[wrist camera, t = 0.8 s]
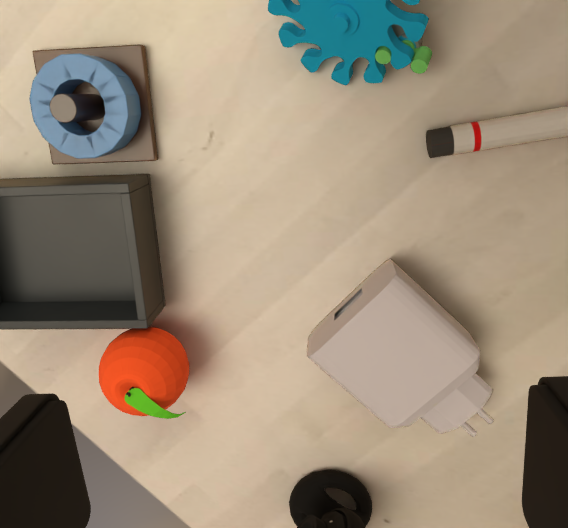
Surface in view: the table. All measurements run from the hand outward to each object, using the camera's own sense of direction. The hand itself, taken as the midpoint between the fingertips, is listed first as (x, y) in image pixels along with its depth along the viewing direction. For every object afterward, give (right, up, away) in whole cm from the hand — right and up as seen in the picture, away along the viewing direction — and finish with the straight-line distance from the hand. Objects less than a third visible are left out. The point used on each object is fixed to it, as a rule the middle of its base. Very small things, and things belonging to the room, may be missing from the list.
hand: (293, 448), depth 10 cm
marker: (+18, +14, +26) cm, 34 cm away
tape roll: (-14, +15, +27) cm, 34 cm away
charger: (+10, -4, +32) cm, 34 cm away
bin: (-17, +5, +31) cm, 36 cm away
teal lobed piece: (+4, +20, +25) cm, 32 cm away
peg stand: (-14, +15, +28) cm, 35 cm away
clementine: (-11, -4, +34) cm, 36 cm away
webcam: (+4, -18, +37) cm, 42 cm away
